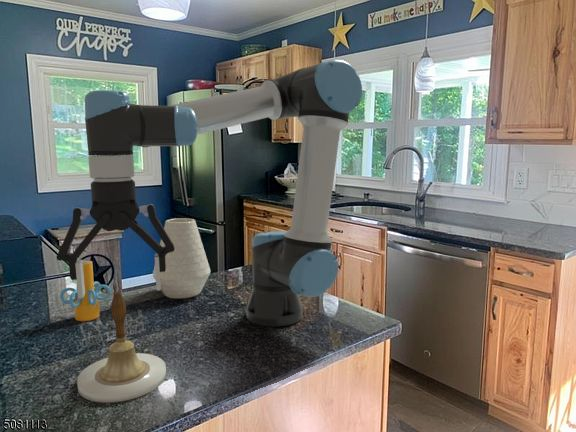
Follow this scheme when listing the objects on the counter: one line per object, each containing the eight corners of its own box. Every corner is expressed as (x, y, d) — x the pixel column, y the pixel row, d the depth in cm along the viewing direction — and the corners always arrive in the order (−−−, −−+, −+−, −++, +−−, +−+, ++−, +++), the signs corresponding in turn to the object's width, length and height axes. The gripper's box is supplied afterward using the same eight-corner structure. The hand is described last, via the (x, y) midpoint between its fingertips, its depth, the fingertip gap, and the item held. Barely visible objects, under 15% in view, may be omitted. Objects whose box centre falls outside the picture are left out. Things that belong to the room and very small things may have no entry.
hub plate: (180, 364, 91) (180, 357, 90) (137, 408, 75) (136, 399, 75) (112, 356, 94) (111, 349, 94) (57, 395, 79) (57, 387, 78)
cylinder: (90, 328, 109) (86, 269, 107) (53, 324, 111) (49, 267, 109) (118, 311, 121) (115, 258, 119) (85, 308, 123) (81, 256, 121)
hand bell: (135, 383, 80) (131, 299, 78) (91, 382, 80) (85, 298, 78) (151, 361, 88) (148, 285, 86) (111, 360, 89) (106, 285, 86)
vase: (190, 281, 149) (189, 214, 146) (222, 293, 137) (220, 220, 134) (143, 292, 137) (140, 220, 133) (172, 306, 125) (170, 227, 121)
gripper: (182, 176, 86) (187, 279, 89) (41, 180, 79) (52, 292, 82) (184, 178, 79) (190, 291, 82) (29, 183, 72) (42, 306, 75)
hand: (121, 292), depth 82 cm, fingers open, 13 cm apart
